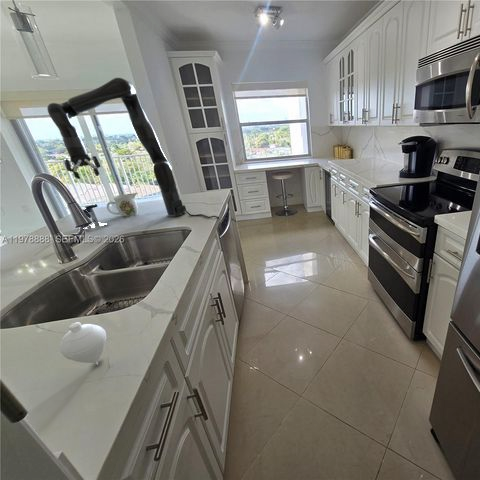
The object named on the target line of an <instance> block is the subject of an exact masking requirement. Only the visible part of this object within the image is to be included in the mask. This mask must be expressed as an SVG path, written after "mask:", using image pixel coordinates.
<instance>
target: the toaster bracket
mask: <svg viewBox="0 0 480 480" xmlns="http://www.w3.org/2000/svg"><path fill="white" fill-rule="evenodd" d="M88 214H89V216H90V215H91V216H90V219H91V221H92V223H93V224H92V225H90V226H89V227H86V228H85V230H88V231H89V230H93V229H95V228H98V227H102V226H105V225H107V223H104V222H100V221H99V220H98V218H97V216H96V213H95V211H94V208H92V209H90V212H89V213H88Z"/></svg>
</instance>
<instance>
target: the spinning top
mask: <svg viewBox="0 0 480 480" xmlns="http://www.w3.org/2000/svg"><path fill="white" fill-rule="evenodd" d="M68 329H69V331H67V332H66V333H65V334H64V335H63V337H62V339H61V342H60V344H59V352H60V354H61V355H62V357H64V358H66V359H67V360H70V361H74V362H79V363H85V364H95V365H96V366H99V363H98V361H99V360H100V358H101V357H102V354H103V352H104V349H105V348H106V347H105V346H106V342H107V333H106V330H105V329H104V328H103V327H102V326H100V325H97V324H92V323H85V324H81V322H79V321H76V322H73V323H71V324H70V325H69V327H68Z"/></svg>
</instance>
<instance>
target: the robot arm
mask: <svg viewBox="0 0 480 480" xmlns="http://www.w3.org/2000/svg"><path fill="white" fill-rule="evenodd" d="M117 99H121V101H122V103H123V105H124V106H125V108H126V111H127V113H128V116H129V121H130V124H131V127H132V130H133V132H134V134H135V136H136V138H137V139H138V141H139V142H140V144H141V145H142V146H143V148H144V149H145V151H146V152H147V154H148V155H149V157H150V160H151V162H152V165H153V166H152V171H153V174H154V178H155V180H156V183H157V185H158V187H159V190H160V195H161V197H162V200H163V204H164V207H165V210H166V212H167V216H168V217H169V218H170V217H171V218H172V217H179V216H182V215H185V214H186V213H187V215H189V216H190V217H199V216H202V217H205V218H208V219H210V218H211V219H212V218H217V219H220V217H219V216H218V215H210V216H209V215H206V214H202V213H200V214H191V213H189V211H187V207H186V205H185V204H183V201H182V199H181V196H180V193H179V189H178V187H177V183H176V180H175V177H174V173H173V169H172V165H171V163H170V162H169V160H168V159H167V157H166V155H165V154H164V151H163V150H162V148H161V144H160V142H159V139H158V137H157V134H156V132H155V130H154V128H153V125H152V124H151V122H150V120H149V118H148V116H147V114H146V112H145V111H144V109H143V107H142V105H141V102H140V99H139V97H138V95H137V91H136V89H135V87H134V85H133V84H132V83H131V82H130V81H129V80H127V79H125V78H122V77H114V78H112V79H111V80H108V81H107V82H106V83H104V84H103V85H100V86H98V87H96V88H94V89H92V90H89V91H86V92H83V93H80V94H77V95H75V96H72V97H69V98H68V99H67V101H64V102H62V103H61V102H60V103H57V102H50V103H48V105H47V108H46V109H47V113H48V116H49V117H50V118H51V121H53V124H55V126H56V127H57V129H58V131H59V134H60V136H61V138H62V142H63V144H64V147H65V149H66V152H67V154H68V156H69V159H68V158H65V159H63V163H64V166H65V169H66V171H67V172H72V174H73V176H74V178H75V179H77V180H81V176H80V174H79V172H78V170H79V168H80V167H84V166H85V167H87V166H88V167H91V168H92V170H93V173H94V176H95V177H99V175H100V171H99V169H98V168H101V164H100V162H99V160H98V157H97V156H95V155H92V156H89V153H88V151H87V149H86V145H85V143H84V141H83V140H82V138H81V135H80V133H79V131H78V129H77V127H76V126H75V125H74V124H73V123H72V122H71V120H70V119H73V118H74V117H77V116H78V115H80V114H83V113H85V112H88V111H91V110H93V109H95V108H98V107H99V106H101V105H102V104H104V103H107V102H109V101H112V100H117ZM91 161H93V163H94V164H93V163H92V162H91ZM71 162H72V164H73V165H72V166H71Z"/></svg>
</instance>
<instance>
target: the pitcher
mask: <svg viewBox="0 0 480 480" xmlns="http://www.w3.org/2000/svg"><path fill="white" fill-rule="evenodd" d="M138 194H139V193H138V192H132V193H125V194H120V195H117V196H113V197H112V199H113V200H114V201H109V202H107V203H106V209H107V211H108V212H109V213H110V214H112V215H116V216H119V215H121V216H122V217H131V216H133V217H136V216H138V212H139V207H138V203H137V201H136V196H137V195H138ZM110 205H114V206H115V208H116V210H117V212H116V211H112V209H111V208H110Z"/></svg>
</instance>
